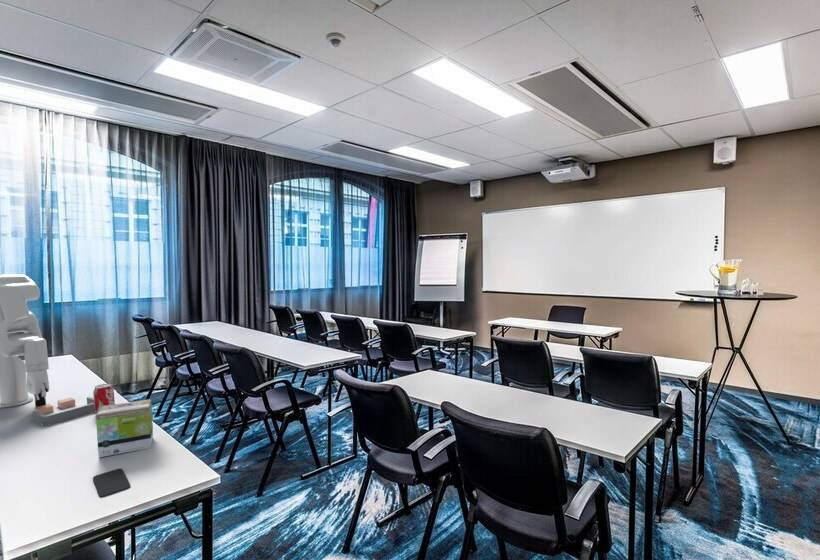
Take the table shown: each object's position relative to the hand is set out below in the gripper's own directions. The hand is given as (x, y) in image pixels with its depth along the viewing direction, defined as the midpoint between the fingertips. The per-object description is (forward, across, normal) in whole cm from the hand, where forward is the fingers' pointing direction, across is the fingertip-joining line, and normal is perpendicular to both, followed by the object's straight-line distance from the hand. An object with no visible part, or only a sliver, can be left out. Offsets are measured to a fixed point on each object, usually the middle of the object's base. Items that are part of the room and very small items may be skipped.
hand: (41, 408), depth 186 cm
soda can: (+2, +30, +12) cm, 33 cm away
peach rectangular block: (+1, +4, +8) cm, 9 cm away
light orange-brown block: (+2, +4, 0) cm, 5 cm away
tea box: (+2, +76, 0) cm, 76 cm away
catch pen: (+1, +17, +4) cm, 18 cm away
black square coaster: (+3, +96, -14) cm, 98 cm away
